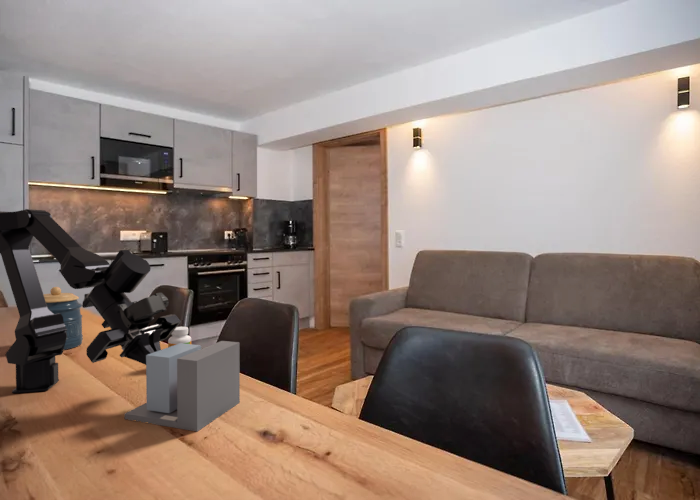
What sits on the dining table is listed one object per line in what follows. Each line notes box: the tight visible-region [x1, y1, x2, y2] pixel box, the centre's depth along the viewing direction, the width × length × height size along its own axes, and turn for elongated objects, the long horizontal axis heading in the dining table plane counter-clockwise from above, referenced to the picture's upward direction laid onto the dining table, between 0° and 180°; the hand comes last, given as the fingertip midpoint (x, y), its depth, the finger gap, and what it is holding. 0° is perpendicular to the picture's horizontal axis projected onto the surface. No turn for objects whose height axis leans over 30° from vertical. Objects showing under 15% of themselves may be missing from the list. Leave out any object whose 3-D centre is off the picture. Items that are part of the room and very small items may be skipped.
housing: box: [124, 340, 241, 432], centre depth 80 cm, size 15×13×12 cm
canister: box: [43, 286, 84, 351], centre depth 124 cm, size 13×13×18 cm
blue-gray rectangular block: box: [145, 343, 202, 413], centre depth 80 cm, size 5×9×10 cm, turn 163°
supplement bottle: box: [167, 326, 192, 348], centre depth 106 cm, size 5×5×10 cm
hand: (163, 369), depth 81 cm, fingers closed, pressing on blue-gray rectangular block
